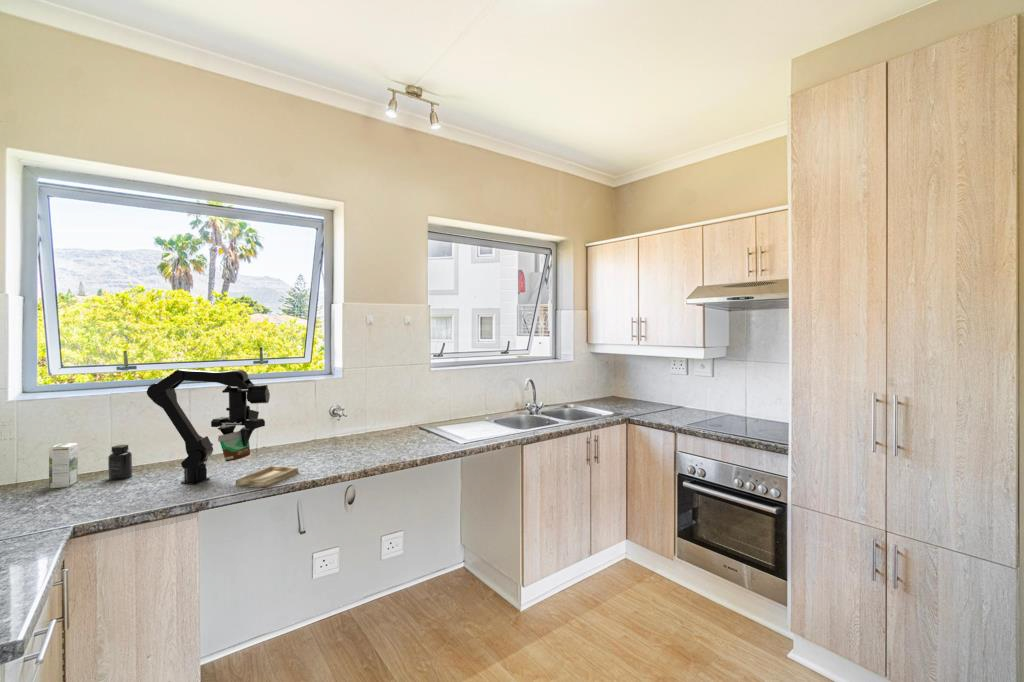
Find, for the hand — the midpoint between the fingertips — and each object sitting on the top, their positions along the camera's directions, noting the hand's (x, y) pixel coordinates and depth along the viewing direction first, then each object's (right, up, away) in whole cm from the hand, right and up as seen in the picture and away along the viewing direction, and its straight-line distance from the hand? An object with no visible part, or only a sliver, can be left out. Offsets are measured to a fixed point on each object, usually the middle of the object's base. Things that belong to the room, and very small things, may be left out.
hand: (238, 445), depth 174 cm
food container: (+1, -4, 0) cm, 5 cm away
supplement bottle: (-45, -12, +1) cm, 46 cm away
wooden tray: (+11, -12, 0) cm, 17 cm away
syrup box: (-58, -13, -8) cm, 60 cm away
